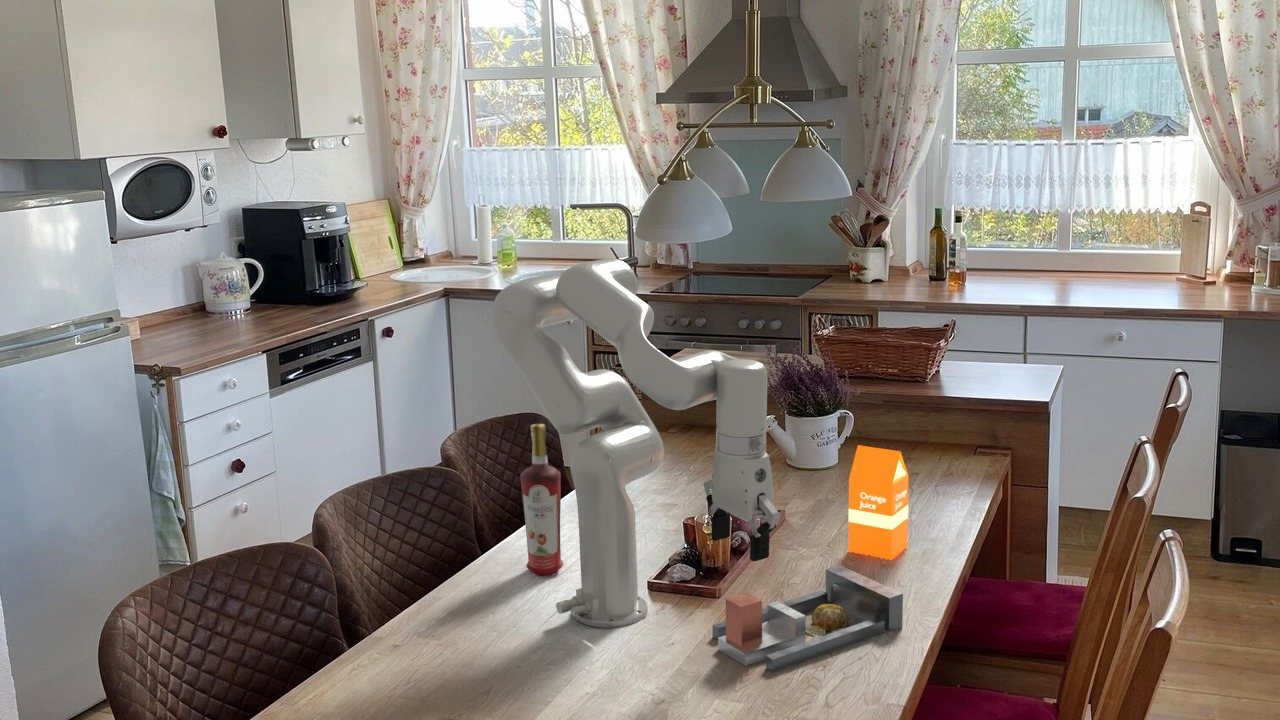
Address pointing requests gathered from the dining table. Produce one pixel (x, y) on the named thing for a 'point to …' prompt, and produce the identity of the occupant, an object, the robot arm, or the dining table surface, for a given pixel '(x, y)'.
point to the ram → (759, 629)
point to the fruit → (827, 619)
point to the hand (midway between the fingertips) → (739, 548)
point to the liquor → (542, 508)
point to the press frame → (857, 599)
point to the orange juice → (878, 503)
